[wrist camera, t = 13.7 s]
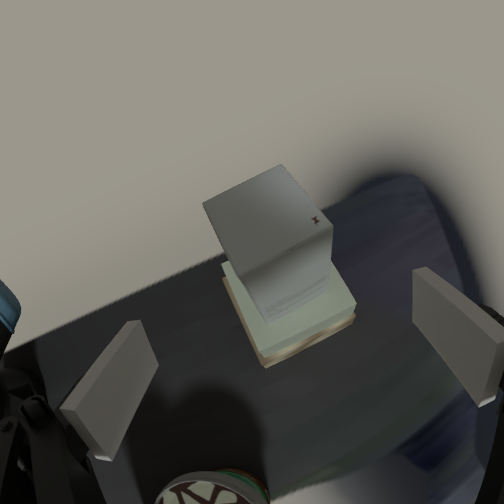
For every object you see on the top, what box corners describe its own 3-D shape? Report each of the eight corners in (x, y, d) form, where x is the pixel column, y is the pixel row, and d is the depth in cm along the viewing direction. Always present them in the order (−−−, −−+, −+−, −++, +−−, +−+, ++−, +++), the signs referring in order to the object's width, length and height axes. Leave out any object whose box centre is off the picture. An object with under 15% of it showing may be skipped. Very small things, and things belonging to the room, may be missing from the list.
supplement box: (294, 240, 34) (283, 160, 23) (329, 293, 31) (337, 226, 20) (236, 270, 34) (199, 200, 23) (265, 327, 30) (237, 278, 19)
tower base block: (266, 368, 36) (261, 364, 32) (229, 289, 42) (222, 278, 38) (351, 324, 36) (355, 315, 33) (307, 251, 42) (306, 236, 39)
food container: (288, 465, 29) (280, 486, 20) (282, 507, 26) (272, 539, 17) (189, 450, 31) (151, 461, 23) (185, 491, 29) (148, 511, 20)
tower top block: (264, 357, 33) (258, 351, 29) (229, 278, 38) (221, 263, 35) (352, 314, 33) (356, 303, 30) (308, 241, 39) (307, 223, 35)
